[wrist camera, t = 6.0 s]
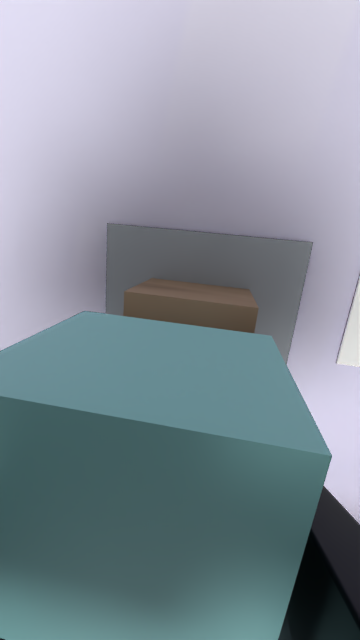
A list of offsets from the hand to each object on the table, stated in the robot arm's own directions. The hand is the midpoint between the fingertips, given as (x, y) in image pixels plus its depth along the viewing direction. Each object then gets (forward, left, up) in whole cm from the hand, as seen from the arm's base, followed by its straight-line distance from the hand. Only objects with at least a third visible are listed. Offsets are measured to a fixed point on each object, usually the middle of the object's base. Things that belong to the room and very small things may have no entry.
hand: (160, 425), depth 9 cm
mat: (0, 0, -10) cm, 10 cm away
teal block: (0, 0, -1) cm, 1 cm away
